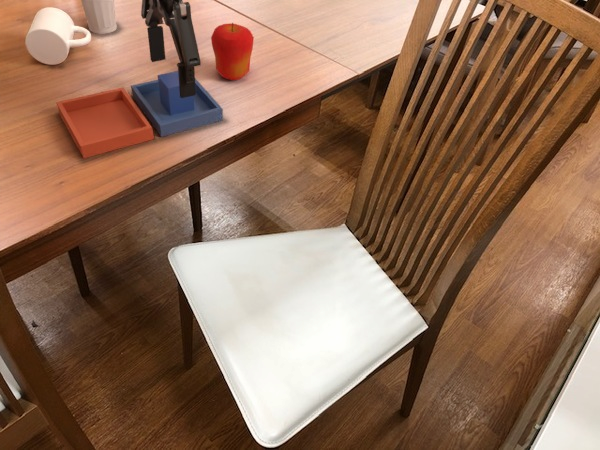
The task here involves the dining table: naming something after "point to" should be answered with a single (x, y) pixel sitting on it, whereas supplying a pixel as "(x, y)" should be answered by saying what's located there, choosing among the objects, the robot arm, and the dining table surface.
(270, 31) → the dining table surface
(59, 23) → the mug
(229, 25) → the apple
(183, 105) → the block
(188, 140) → the dining table surface
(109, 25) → the cup
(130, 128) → the red tray
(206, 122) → the blue tray
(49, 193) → the dining table surface
